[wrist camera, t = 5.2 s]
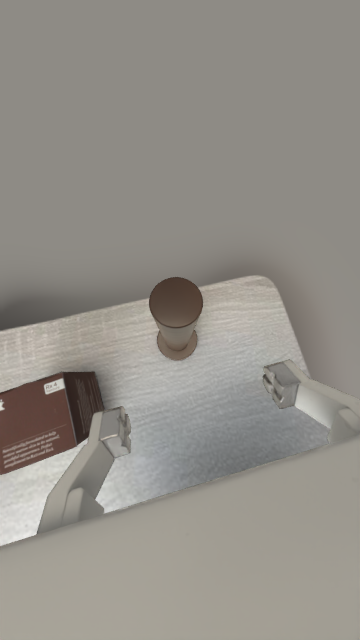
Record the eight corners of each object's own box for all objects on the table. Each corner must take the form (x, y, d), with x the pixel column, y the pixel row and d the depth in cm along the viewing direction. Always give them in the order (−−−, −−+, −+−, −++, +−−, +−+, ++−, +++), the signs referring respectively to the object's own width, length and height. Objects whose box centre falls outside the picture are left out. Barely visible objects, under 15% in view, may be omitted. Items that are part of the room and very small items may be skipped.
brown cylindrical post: (193, 322, 26) (215, 256, 10) (197, 358, 25) (228, 342, 9) (157, 326, 25) (128, 263, 10) (160, 362, 24) (132, 352, 9)
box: (54, 443, 22) (-4, 478, 15) (44, 387, 24) (-14, 396, 16) (109, 423, 23) (78, 448, 16) (96, 370, 24) (62, 370, 17)
